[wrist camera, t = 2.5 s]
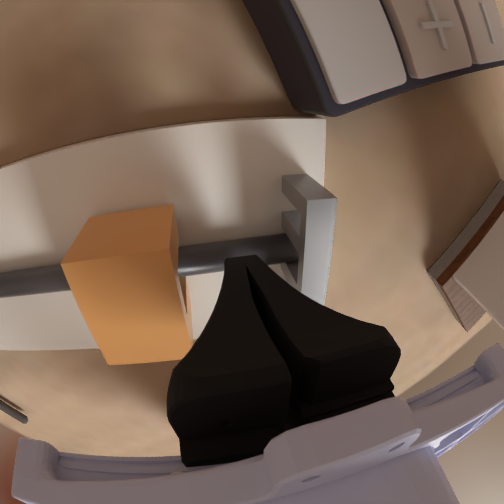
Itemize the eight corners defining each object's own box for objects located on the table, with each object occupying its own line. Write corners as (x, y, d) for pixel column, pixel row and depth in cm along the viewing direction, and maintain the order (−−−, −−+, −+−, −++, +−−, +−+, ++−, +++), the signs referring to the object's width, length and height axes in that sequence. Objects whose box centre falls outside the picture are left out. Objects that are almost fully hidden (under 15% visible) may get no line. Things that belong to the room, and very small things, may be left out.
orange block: (190, 300, 15) (194, 357, 12) (119, 309, 15) (108, 365, 11) (173, 204, 13) (169, 248, 9) (89, 217, 12) (60, 264, 9)
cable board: (305, 310, 19) (329, 357, 16) (-13, 340, 15) (-30, 379, 12) (317, 116, 13) (363, 130, 9) (-77, 202, 9) (-113, 232, 6)
